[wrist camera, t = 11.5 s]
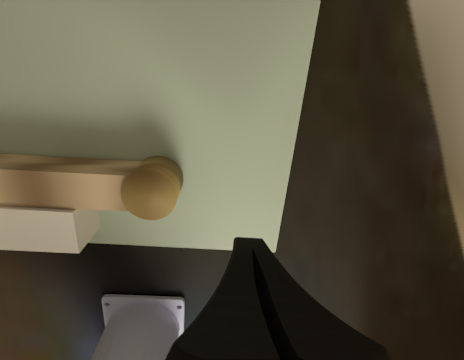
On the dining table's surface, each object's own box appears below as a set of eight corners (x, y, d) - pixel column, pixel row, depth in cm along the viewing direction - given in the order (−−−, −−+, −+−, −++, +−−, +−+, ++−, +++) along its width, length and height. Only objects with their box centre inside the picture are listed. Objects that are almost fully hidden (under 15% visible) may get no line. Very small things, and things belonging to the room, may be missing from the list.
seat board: (273, 245, 24) (275, 252, 23) (1, 231, 23) (-8, 238, 22) (315, 4, 17) (320, 0, 16) (-77, -39, 16) (-96, -46, 15)
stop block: (100, 226, 22) (79, 253, 19) (12, 221, 21) (-25, 248, 18) (96, 190, 21) (72, 212, 17) (2, 184, 20) (-40, 206, 17)
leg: (183, 157, 20) (176, 172, 17) (183, 200, 21) (176, 221, 18) (-26, 145, 19) (-72, 159, 16) (-12, 191, 20) (-52, 211, 17)
